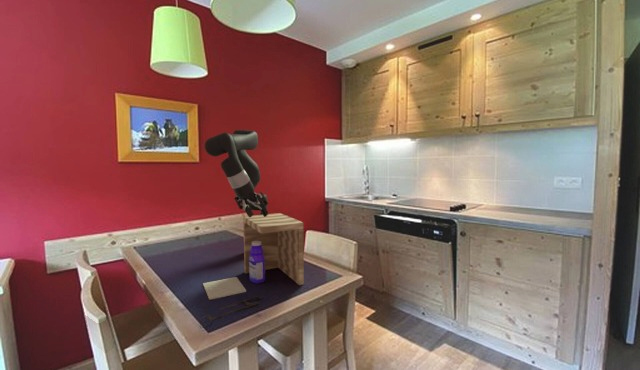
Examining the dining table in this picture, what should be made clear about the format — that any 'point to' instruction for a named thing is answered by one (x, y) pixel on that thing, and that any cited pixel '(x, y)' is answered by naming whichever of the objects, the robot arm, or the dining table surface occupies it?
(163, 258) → the dining table surface
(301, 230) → the wooden slatted crate
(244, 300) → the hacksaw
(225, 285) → the mat
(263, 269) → the bottle
